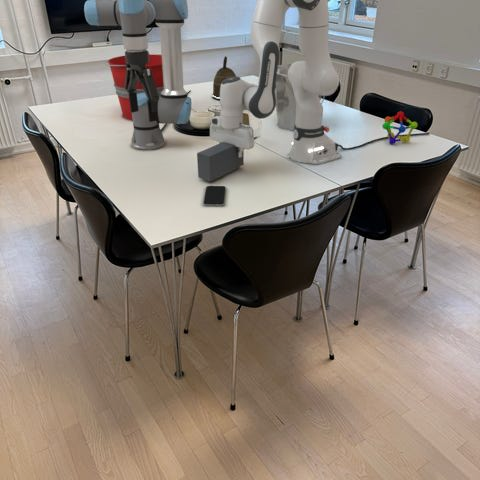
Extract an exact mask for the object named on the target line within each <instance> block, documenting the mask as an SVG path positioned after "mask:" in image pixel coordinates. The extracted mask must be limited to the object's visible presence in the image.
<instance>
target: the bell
mask: <svg viewBox="0 0 480 480" xmlns="http://www.w3.org/2000/svg"><path fill="white" fill-rule="evenodd" d="M227 63H228V57H227V56H224V58H223V63H222V67H221V68H219V69H218V70H217V71H216V73H215V75H214V78H213V81H212V83H213V84H212V95H214V96H216V97H220V87H221V83H222V81H223V80H224V79H226V78H229V77H237V75H236V73H235V72H234V70H232V69H231V68H230V67H227Z"/></svg>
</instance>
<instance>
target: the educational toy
mask: <svg viewBox="0 0 480 480" xmlns="http://www.w3.org/2000/svg"><path fill="white" fill-rule="evenodd" d="M397 119H399V124H400V125H399V127H398V126H393V125H391V124H392V123H394V122H395V121H396V120H397ZM403 120H404V121H405V122H407V123H408V124H409V125H407V126H404V123H403ZM417 127H418V122H417V121H411V120H410V119H409V118H408V117H406V116H405V113H404V112H403V111H401V110H400V111H398V112H397V114H396V115H394V116H391V117H390V116H386V117H385V118H384V122H383V123H382V129H383V130H386V132H387V137H388V138H387V139H388V142H389V145H395V144H396V143H397V142H402V141H403V142H404V143H409V142H410V140H411V138H410V134H412V132H413V131H414V130H415V129H417ZM392 129H393V130H397V131H398V132H396V134H395V133H394V132H392ZM408 129H409V131H408V133H407V134H408V135H407V136H401V137H400V136H399V135H401V134H403V133H405V132H406V130H408Z"/></svg>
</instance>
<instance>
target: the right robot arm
mask: <svg viewBox="0 0 480 480" xmlns="http://www.w3.org/2000/svg"><path fill="white" fill-rule="evenodd" d="M290 8H293V9H295V8H296V9H297V11H298V16H299V17H298V18H299V19H298V48H299V51H300V52H301V54H302V56H303V59H304V60H297V61H295V62H293V63H291V64H292V65H291V66H290V68H289V70H288V80H289V81H290V83H291V85H292V87H293V91H294V95H295V101H296V122H295V125H294V130H293V141H292V142H291V145H292V146H291V150H290V152H289V154H288V156H289V158H290V159H291V160H292V161H294V162H298V163H303V164H310V165H320V164H324V163H327V162H331V161H333V160H337V159H341V153H339V151H338V148H339V147H340V149H341V150H343V151H350V150H354V149H358V148H362V147H364V146H366V145H368V144H372V143H374V142H377V141H381V140H385V139H389V138H388V136H383V137H379V138H376V139H372V140H369V141H366V142H364V143H362V144H359V145H356V146H352V147H347V148H346V147H343V145H341V144H339V143H338V142H334V140H333V139H332V138H330V137H329V136H328V135H327V134H326V133H329V132H330V128H329V127H328V126H326V125H325V126H324V125H323V116H324V115H323V114H324V106H323V103H322V101H320V100H319V97H318V95H321V96H322V97H323V96H324V97H327V96H331V95H333V94H334V93H335V92H336V91H337V90H338V87H339V85H340V76H339V73H338V72H337V70H336V69H335V67H334V64H333V62H332V58H331V54H330V48H329V26H330V25H329V23H330V17H329V16H330V13H329V12H330V11H329V2H328V0H257V1H256V4H255V8H254V11H253V15H252V19H251V25H250V31H249V32H250V36H249V37H250V38H249V39H250V43H251V45H252V48H253V49H254V50H255V52H256V54H257V56H258V59H259V73H258V79H257V80H258V81H257V84H255V83H250V82H248V81H245V80H244V79H242V78H241V77H240V76H236V77H229V78H226V79H224V80H223V81H222V83H221V87H220V100H219V104H220V111H219V114H218V115H216V116H213V117H211V118H210V119H209V122H210V125H209V137H210V139H211V140H212V141H214V142H218V143H222V142H225V143H229V144H233V145H235V146H236V147H239V150H240V151H239V152H238V153H237V157H239V158H240V157H242V152H243V151H244V150H247V151H249V150H251V149H253V148H254V146H255V137H254V128H253V127H252V126H251V124H245V123H244V111H248V112H249V113H251V114H252V116H253V117H255V118H256V119H261V120H263V119H267V118H268V117H270V116H271V115H272V114H273V113H274V111H275V110H276V98H275V83H276V76H277V68H278V65H279V60H280V40H281V34H282V29H283V25H284V18H285V15H286V13H287V12H288V10H289V9H290ZM321 103H322V104H321ZM407 135H408V133H406V134H399V136H400V137H404V136H407ZM424 135H430V132H420V133H419V132H418V133H411V134H410V136H412V137H413V136H424ZM410 136H409V137H410ZM244 152H245V151H244Z"/></svg>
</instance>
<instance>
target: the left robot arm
mask: <svg viewBox="0 0 480 480" xmlns="http://www.w3.org/2000/svg"><path fill="white" fill-rule="evenodd" d="M83 7H84V8H83V12H84V17H85V20H86V22H87V23H88V24H89V25H90V26H97V27H100V26H101V27H103V26H104V27H105V26H108V27H109V26H113V27H115V26H119V27H121V32H122V44H123V49H124V50H125V51H124V56H125V58H126V77H125V90H127V92H128V94H129V102H130V110H131V112H132V118H133V120H132V125H133V132H132V135H131V147H132V148H134V149H135V150H141V151H151V150H153V151H154V150H157V149H161V148H163V147H164V146H165V144H166V140H165V137H164V135H163V131H164V130H165V128H166V127H167V125H185V124H188V122H189V121H190V118H191V113H192V103H193V102H192V98H191V97H190V96H188V94H189V93H190V92H191V91H192V90H191V89H189V90H190V91H189V90H188V91H189V92H188V91H187V90H186V89H185V88H184V70H183V69H184V68H183V49H182V48H183V47H182V27H183V26H184V25H185V20H187V19H188V18H189V7H188V0H86V1H85V2H84V5H83ZM154 21H155V25H156V26H157V27H158V28H159V36H160V37H159V38H160V50H161V51H160V53H161V54H160V55H162V69H163V84H164V89H163V91H162V92H161V96H158V92H157V89H156V86H155V82H154V79H153V75H152V70H151V69H147V68H146V64H147V63H149V54H150V53H149V51H148V50H147V49H149V43H148V41H149V38H148V34H147V33H148V32H147V26H150V25H151V24H152V23H153V22H154ZM138 81H139V83H140V84H142V87H143V89H144V91H145V92H144V93H140V94H137V93H136V91H137V90H136V86H137V83H138ZM187 92H188V93H187ZM160 124H164V125H163V127H160Z"/></svg>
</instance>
